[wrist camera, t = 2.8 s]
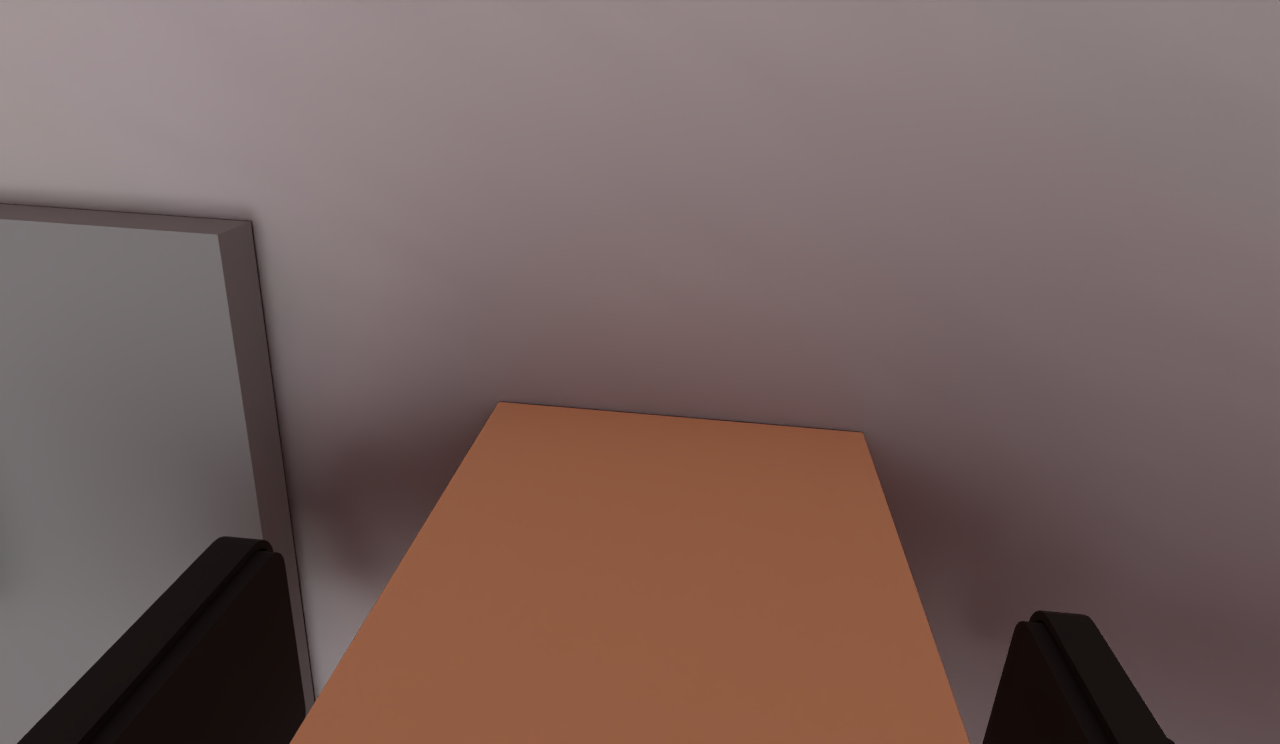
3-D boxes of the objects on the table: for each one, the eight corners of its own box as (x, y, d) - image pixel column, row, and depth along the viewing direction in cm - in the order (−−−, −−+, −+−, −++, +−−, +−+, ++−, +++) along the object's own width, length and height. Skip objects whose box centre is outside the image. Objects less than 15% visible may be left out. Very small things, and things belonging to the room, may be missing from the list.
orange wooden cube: (863, 432, 12) (1014, 872, 6) (815, 715, 14) (888, 1265, 8) (499, 401, 12) (267, 782, 6) (504, 682, 14) (334, 1181, 8)
